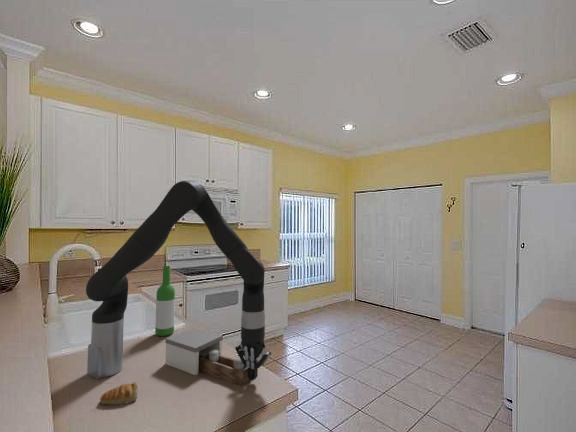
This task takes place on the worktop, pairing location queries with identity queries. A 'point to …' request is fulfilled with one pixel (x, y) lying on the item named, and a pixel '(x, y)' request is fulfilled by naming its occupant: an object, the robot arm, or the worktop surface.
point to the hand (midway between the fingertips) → (252, 378)
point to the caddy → (224, 367)
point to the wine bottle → (165, 306)
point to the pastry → (120, 394)
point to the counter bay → (188, 357)
